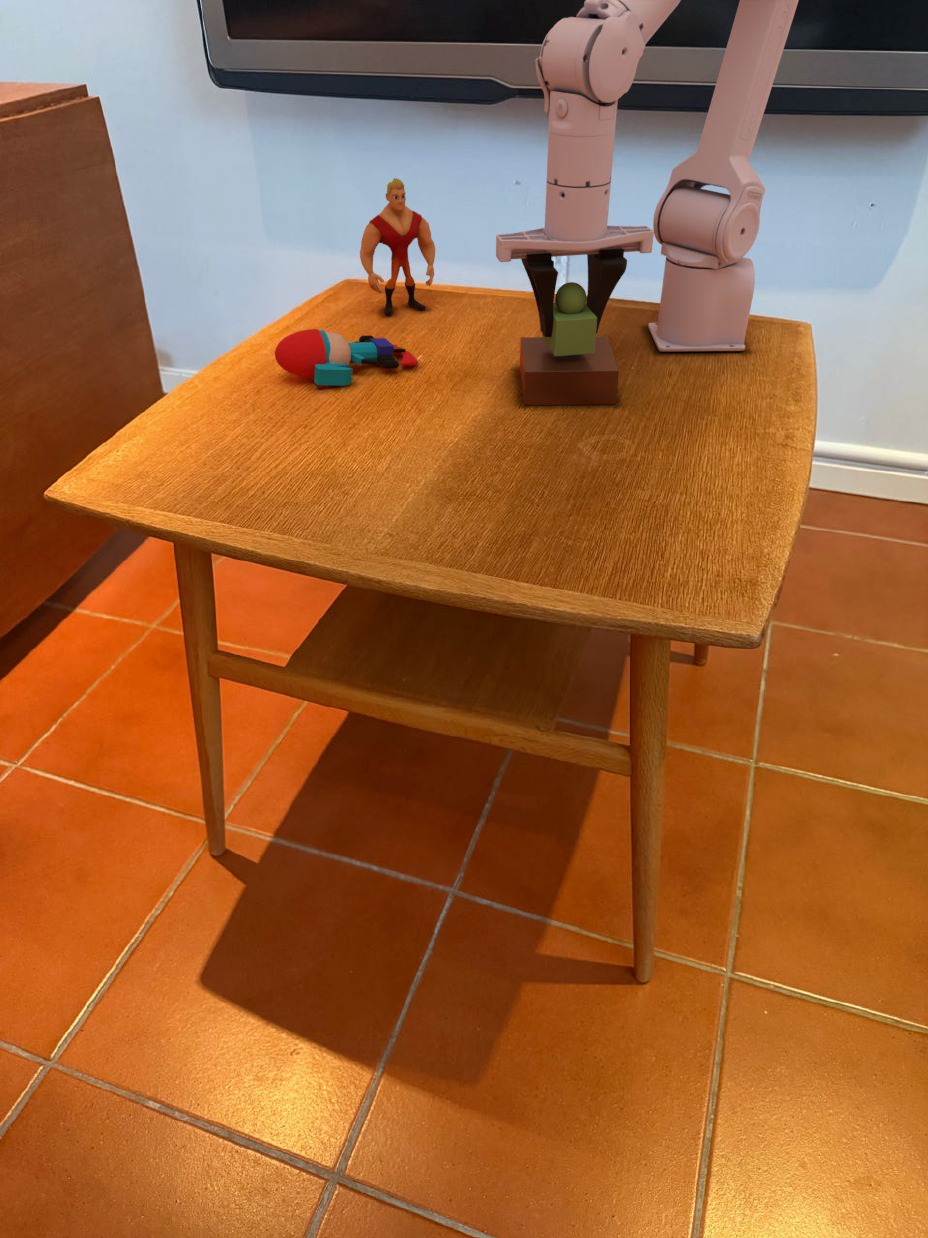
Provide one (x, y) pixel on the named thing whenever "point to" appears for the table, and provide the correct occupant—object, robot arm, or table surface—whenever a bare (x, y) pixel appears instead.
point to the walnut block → (567, 375)
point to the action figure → (397, 244)
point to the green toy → (572, 323)
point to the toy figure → (335, 355)
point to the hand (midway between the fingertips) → (569, 331)
